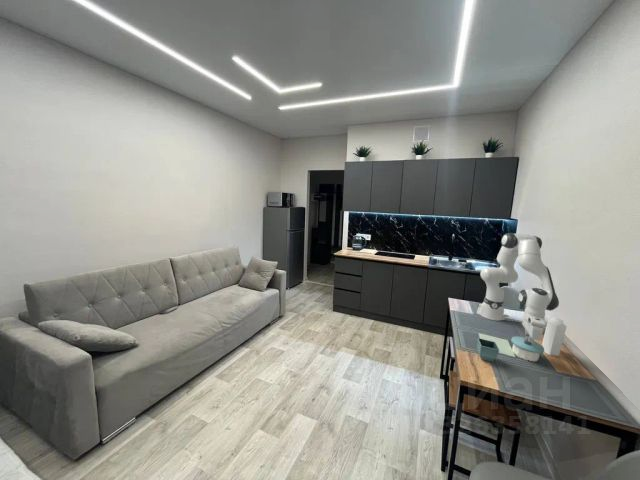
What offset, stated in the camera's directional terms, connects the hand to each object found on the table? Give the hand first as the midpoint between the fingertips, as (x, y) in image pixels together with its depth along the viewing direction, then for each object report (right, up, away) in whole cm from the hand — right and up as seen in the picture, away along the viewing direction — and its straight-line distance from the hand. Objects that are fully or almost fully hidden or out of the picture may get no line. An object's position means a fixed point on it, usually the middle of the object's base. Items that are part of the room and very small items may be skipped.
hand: (528, 339), depth 148 cm
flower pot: (-28, -9, -4) cm, 30 cm away
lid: (0, -4, +1) cm, 4 cm away
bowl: (-1, -10, +2) cm, 10 cm away
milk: (+18, -11, +6) cm, 22 cm away
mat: (-12, -8, +10) cm, 17 cm away
